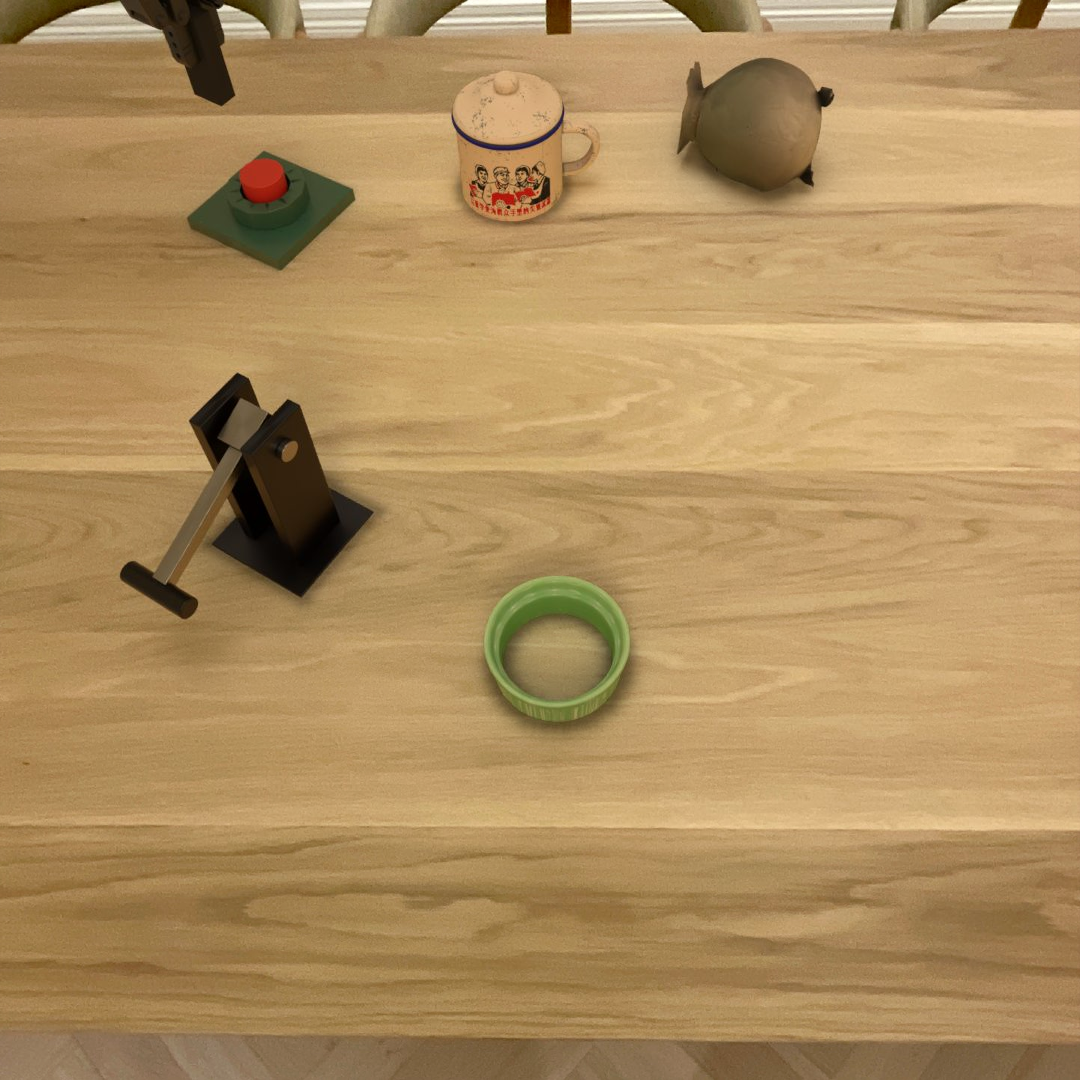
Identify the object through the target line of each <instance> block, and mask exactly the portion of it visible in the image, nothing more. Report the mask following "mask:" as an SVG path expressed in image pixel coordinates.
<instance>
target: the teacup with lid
mask: <svg viewBox="0 0 1080 1080" xmlns="http://www.w3.org/2000/svg"><path fill="white" fill-rule="evenodd" d="M450 115H451V117H450V118H451V122H452V125H453V128H454V129H455V134H456V135H455V136H456V142H457V143H456V144H457V151H458V152H457V153H458V160H459V161H458V162H459V169H460V178H461V188H462V194H463V198H464V200H465V202H466V204H467V205H468V206H469V207H470V208H471V209H472V210H473V211H474V212H476V213H478V214H479V215H480V216H483V217H486V218H488V219H491V220H496V221H502V222H518V221H520V222H521V221H525V220H529V219H532V218H533V219H534V218H536V217H538V216H540V215H542V214H545V213H546V212H547V211H549V210H550V209H551V208H552V207H554V205H556V203H557V202H558V201H559V199H560V197H561V195H562V193H563V184H564V183H563V177H566V176H567V177H568V176H575V175H579V174H581V173H583V172H585V171H587V170H588V169H589V168H590V167H591V166H592V165H593V164H594V163H595V161H596V160H597V158H598V156H599V153H600V149H601V148H600V147H601V138H600V134H599V132H598V131H599V130H598V129H597V128H596V127H595V126H594V125H593V124H591V123H590V122H588V121H586V120H582V119H576V118H575V119H574V118H573V119H564V118H565V105H564V102H563V100H562V97H561V95H560V94H559V92H558V90H557V89H556V88H555V87H554V86H553V84H551V83H549V82H548V81H546V80H545V79H544V78H541V77H540V76H537V75H534V74H530V73H527V72H520V71H512V70H507V69H505V70H504V69H503V70H501V71H498V72H495V73H489V74H486V75H483V76H481V77H478V78H476V79H474V80H472V81H471V82H469V83H468V84H466V86H464V87H462V89H461V90H460V92H459V93H458V94H457V96H455V99H454V102H453V104H452V109H451V114H450ZM564 134H580V135H583V136H585V137H587V138H588V139H589V140H590V141H591V143H590V146H589V149H588V150H587V152H586V154H584V155H583V156H582V157H581V158H578V159H576V160H574V161H568V162H567V161H566V162H563V135H564Z"/></svg>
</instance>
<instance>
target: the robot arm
mask: <svg viewBox="0 0 1080 1080" xmlns="http://www.w3.org/2000/svg"><path fill="white" fill-rule="evenodd" d="M118 1H119V2H120V4H121V5H122V7H123V8H124V11H126V13H127V14H128V16H129V17H130V18H131V19H133V20H135V21H137V22H140V23H142V24H143V25H146V26H148V27H151V28H154V29H156V30H159V31H162V32H163V34H164V36H165V40H166V41H167V42H166V43H167V44H168V48H169V50H170V53H171V56H172V58H173V59H174V60H175V62H176V63H178V64H179V65H182V66H183V67H184V69H185V71H186V75H187V77H188V79H189V82H190V85H191V88H192V91H193V94H194V95H195V96H197V97H199V98H202V99H204V100H206V101H209V102H210V103H213V104H215V105H217V106H219V107H223V106H224V105H226V104H227V103H228V102H229V101H231V100H232V99H233V98H234V97H236V92H235V89H234V86H233V82H232V80H231V76H230V73H229V70H228V67H227V64H226V60H225V58H224V54H223V51H222V48H221V47H222V46H223V45H224V44H225V43H226V41H225V31H224V29H223V26H222V22H221V19H220V16H219V12H218V10H220V9H222V7H224V5H225V1H226V0H118Z"/></svg>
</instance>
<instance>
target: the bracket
mask: <svg viewBox="0 0 1080 1080" xmlns="http://www.w3.org/2000/svg"><path fill="white" fill-rule="evenodd" d="M240 398H242V399H244V400H246V401H248V402H250V403H252V404H254V405H256V406H258V407H259V408H261V409H262V407H261V404H260V403H259V400H258V397H257V394H256V392H255V390H254V387H253V385H252V382H251V380H250V378H249V377H247V376H245V375H244V374H241V373H240V372H236V373H235V374H234V375H233V376H231V378H230V379H229V380H228V381H227V382H225V383H224V384H223V386H222V387H221V388H219V389H218V390H217V392H215V394H213V395H212V396H211V398H209V400H207V401H206V403H204V404H203V405H202V406H201V407H200V408H199V409H198V411H197V412H195V414H193V416H191V417H190V418H189V420H188V423H189V425H190V427H191V429H192V431H193V433H194V435H195V437H196V439H197V441H198V443H199V445H200V447H201V450H202V451H203V453H204V455H205V457H206V459H207V461H208V463H209V465H210V467H211V469H212V471H213V472H214V471H215V470H216V468H217V466H218V464H219V463H220V461H221V459H222V458H223V456H224V454H225V453H226V451H227V449H228V448H229V446H230V445H228V444H227V443H225V442H223V441H222V440H220V439H218V438H217V437H218V435H219V433H220V432H221V430H222V428H223V427H224V425H225V423H226V422H227V420H228V418H229V417H230V415H231V413H232V412H233V410H234V408H235V406H236V405H237V403H238V401H239V400H240ZM240 450H241V453H242V455H243V457H244V459H245V462H246V464H247V465H246V467H245V468H244V470H243V472H242V473H241V475H240V477H239V478H238V480H237V482H236V484H235V485H234V487H233V489H232V490H231V492H230V494H229V495H228V497H227V499H226V500H227V502H228V504H229V505H230V507H231V510H232V511H233V514H234V515H235V517H234V519H233V520H232V521H231V522H230V523H229V524H228V525H227V526H226V527H225V528H224V529H223V531H221V533H219V535H218V536H217V537H216V538H215V539H214V540H213V541H212V542H211V546H213V547H214V548H215V549H218V550H219V551H221V552H223V553H225V554H226V555H228V556H230V557H231V558H233V559H235V560H237V561H238V562H239V563H241V564H244V565H245V566H247V567H248V568H249V569H251V570H253V571H255V572H256V573H258V574H260V575H262V576H263V577H265V578H267V579H268V580H270V581H271V582H274V583H275V584H277V585H279V586H280V587H282V588H283V589H285V590H287V591H289V592H290V593H292V594H294V595H295V596H297V597H299V598H303V596H304V595H305V594H306V593H307V592H308V591H309V590H310V589H311V587H312V586H313V585H314V584H315V583H316V581H317V580H318V579H319V577H321V576H322V574H323V573H324V572H325V571H326V570H327V568H328V567H329V566H330V565H331V564H332V562H333V561H334V560H335V559H336V558H337V557H338V556H339V554H340V553H341V552H342V551H343V550H344V548H345V547H346V546H347V545H348V544H349V543H350V541H352V539H353V538H354V536H355V535H356V534H357V533H358V532H359V531H360V530H361V528H362V527H363V526H364V525H365V524H366V522H368V521H369V519H370V518H371V517H372V516H373V514H374V511H373V510H371V509H370V508H368V507H366V506H363V504H360V503H358V502H357V501H356V500H355V501H354V500H353V499H351V498H349V497H347V496H345V495H344V494H342V493H340V492H339V491H336V490H335V489H333V488H331V487H329V484H328V481H327V479H326V476H325V475H326V474H325V473H324V469H323V466H322V464H321V461H320V458H319V455H318V452H317V450H316V446H315V444H314V440H313V438H312V436H311V432H310V430H309V426H308V424H307V421H306V418H305V415H304V412H303V410H302V406H301V405H300V404H299V403H297V402H295V401H293V400H291V399H290V398H287V399H286V400H285V401H284V402H283V403H282V404H281V405H280V406H279V407H278V408H277V409H276V410H275V411H274V413H273V414H272V416H271V417H270V418H269V419H268V420H267V421H266V422H265V423H264V424H263V425H262V426H261V427H260V428H259V429H258V430H257V431H256V432H255V433H254V434H253V435H252V436H251V438H250V439H249V440H248V441H247V442H246V443H245V444H244V445H243V446H242V447H241V448H240Z"/></svg>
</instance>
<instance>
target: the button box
mask: <svg viewBox="0 0 1080 1080" xmlns="http://www.w3.org/2000/svg"><path fill="white" fill-rule="evenodd" d="M257 159H272V160H275V161H277V162H278V163H280V164H281V166H282V168H283V171H284V174H285V178H286V181H287V185H288V189H287V192H286V193H285V194H284V195H283V196H282V197H281V198H280V199H277V200H274V201H271V202H269V203H253V202H251V201H249V200H248V199H247V198H246V196H245V194H244V191H243V188H242V185H241V182H240V178H239V174H240V171H241V169H242V168H243V167H241V168H240V169H239V170H237V172H235V173H234V174H233V175H232V176H230V178H228V180H227V182H226V183H225V184H223V185H222V186H221V187H220V188H219V189H218V190H217V191H215V192H214V193H213V194H212V195H211V196H210V197H209V198H207V199H206V200H205V201H204V202H203V203H201V205H200V206H198V207H197V208H196V209H194V211H192V212H191V213H190V214H189V215H187V217H186V220H187V222H188V225H189V227H190V229H192V230H193V231H196V232H198V233H200V234H202V235H204V236H206V237H208V238H210V239H213V240H215V241H217V242H219V243H221V244H222V245H225V246H227V247H229V248H232V249H234V250H236V251H238V252H240V253H242V254H244V255H246V256H249V257H251V258H253V259H255V260H257V261H259V262H261V263H263V264H266V265H267V266H270V267H272V268H273V269H276V270H278V271H280V272H281V271H283V270H284V269H285V268H286V267H287V266H288V265H289V264H290V263H291V262H292V261H293V260H295V258H296V257H297V256H298V255H299V254H300V253H301V252H302V251H304V249H306V248H307V247H308V246H309V245H310V244H311V243H312V242H313V241H314V240H315V239H317V237H318V236H319V235H320V234H321V233H322V232H323V231H324V230H326V228H328V227H329V225H331V224H332V223H333V222H334V221H335V220H336V219H337V218H338V217H340V215H342V213H343V212H345V211H346V209H347V208H348V207H350V206H351V204H353V203H354V202H355V200H356V197H355V191H354V188H352V187H349V186H347V185H345V184H342V183H341V182H337V181H335V180H333V179H331V178H328V177H326V176H324V175H322V174H319V173H318V172H317V173H316V172H314V171H312V170H310V169H308V168H306V167H303V166H301V165H298V164H296V163H293V162H292V161H289V160H286V159H284V158H282V157H280V156H277V155H275V154H274V153H273V154H272V153H271V152H268V151H266V150H263V151H261V152H260V153H259V154H258V155H257V156H255V157H254V158H253V159H252V160H251V161H254V160H257Z"/></svg>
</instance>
